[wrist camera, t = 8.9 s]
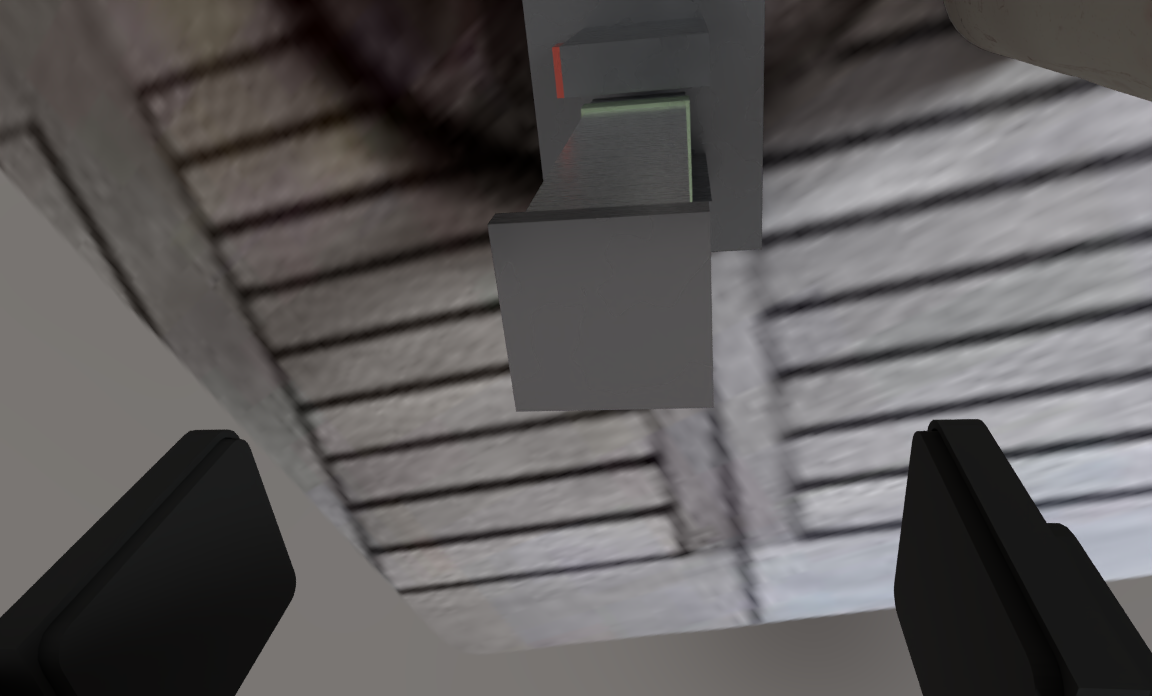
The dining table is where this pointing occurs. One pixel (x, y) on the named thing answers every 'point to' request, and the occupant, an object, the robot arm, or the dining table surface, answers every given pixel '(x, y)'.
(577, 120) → the base
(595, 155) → the column
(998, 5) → the thermos bottle
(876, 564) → the dining table surface
